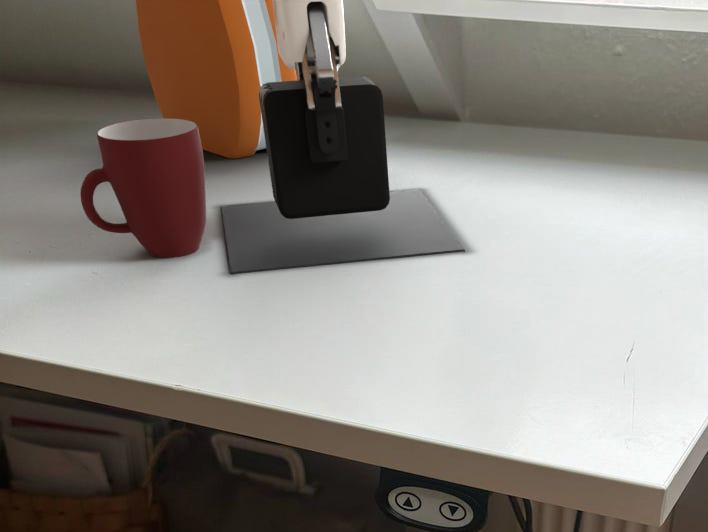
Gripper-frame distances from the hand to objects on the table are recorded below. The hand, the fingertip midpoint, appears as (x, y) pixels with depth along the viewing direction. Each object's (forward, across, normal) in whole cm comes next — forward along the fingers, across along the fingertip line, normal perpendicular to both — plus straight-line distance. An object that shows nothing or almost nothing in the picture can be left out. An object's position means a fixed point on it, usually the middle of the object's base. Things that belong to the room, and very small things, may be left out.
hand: (325, 151), depth 83 cm
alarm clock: (+7, -40, -7) cm, 41 cm away
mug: (+7, +2, -16) cm, 17 cm away
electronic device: (+5, 0, 0) cm, 5 cm away
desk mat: (+7, 0, 0) cm, 7 cm away
